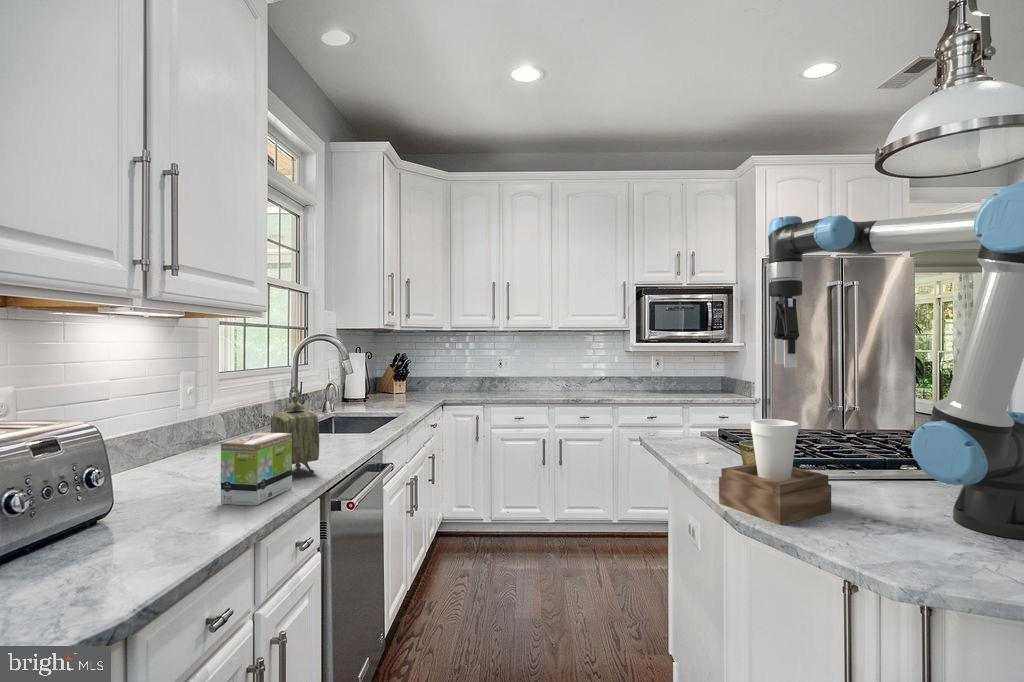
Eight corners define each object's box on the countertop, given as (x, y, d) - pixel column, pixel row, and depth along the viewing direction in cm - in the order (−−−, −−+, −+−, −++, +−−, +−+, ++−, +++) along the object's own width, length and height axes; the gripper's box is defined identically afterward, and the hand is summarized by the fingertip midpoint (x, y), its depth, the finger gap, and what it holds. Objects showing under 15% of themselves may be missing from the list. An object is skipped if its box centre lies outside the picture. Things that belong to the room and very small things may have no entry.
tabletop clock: (320, 475, 157) (318, 387, 156) (287, 481, 151) (285, 389, 151) (301, 466, 168) (300, 383, 167) (270, 471, 162) (268, 386, 162)
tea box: (258, 506, 130) (257, 443, 130) (219, 505, 131) (218, 442, 131) (293, 488, 145) (292, 431, 144) (258, 487, 146) (257, 431, 146)
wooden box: (831, 512, 120) (831, 475, 120) (780, 524, 113) (780, 485, 113) (768, 493, 134) (767, 460, 134) (719, 503, 127) (718, 468, 127)
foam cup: (741, 478, 126) (741, 420, 125) (772, 473, 129) (772, 417, 129) (776, 489, 117) (776, 427, 117) (808, 484, 120) (808, 424, 120)
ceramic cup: (768, 490, 137) (768, 449, 137) (731, 481, 145) (731, 443, 145) (795, 481, 145) (795, 442, 144) (758, 473, 153) (758, 437, 152)
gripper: (762, 284, 152) (762, 362, 152) (776, 276, 128) (777, 369, 128) (792, 283, 149) (793, 362, 150) (813, 275, 126) (813, 369, 126)
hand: (785, 365), depth 139 cm, fingers open, 13 cm apart
